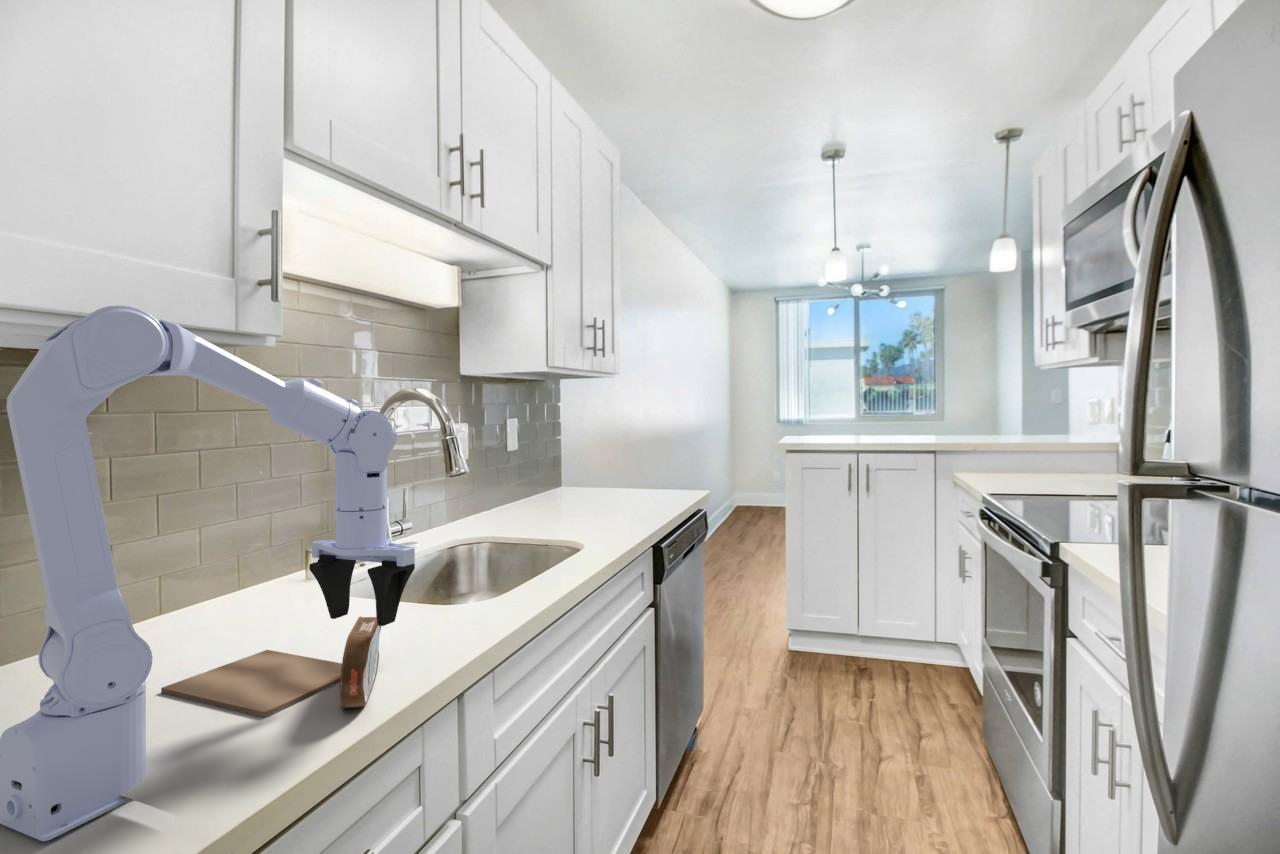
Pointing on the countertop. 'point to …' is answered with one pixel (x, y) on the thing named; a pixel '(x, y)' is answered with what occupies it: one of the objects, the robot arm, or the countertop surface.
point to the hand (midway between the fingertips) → (362, 619)
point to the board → (259, 682)
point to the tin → (359, 663)
